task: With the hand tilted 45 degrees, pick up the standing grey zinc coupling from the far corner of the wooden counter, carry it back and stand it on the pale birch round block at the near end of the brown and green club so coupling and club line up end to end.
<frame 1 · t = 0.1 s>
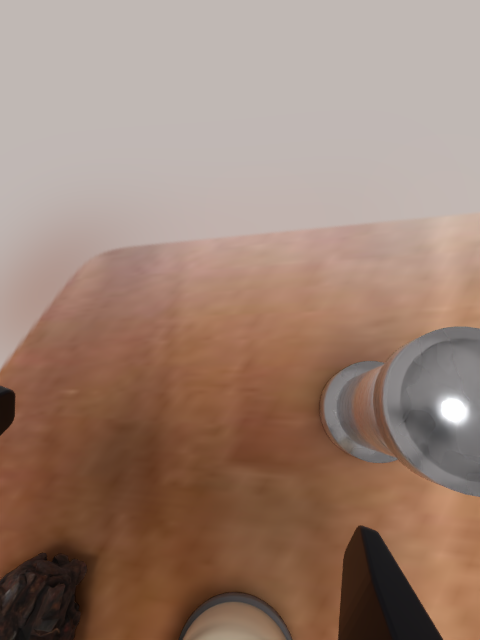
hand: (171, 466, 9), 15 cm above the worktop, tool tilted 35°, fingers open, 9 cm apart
zinc coupling: (365, 410, 23), on the worktop
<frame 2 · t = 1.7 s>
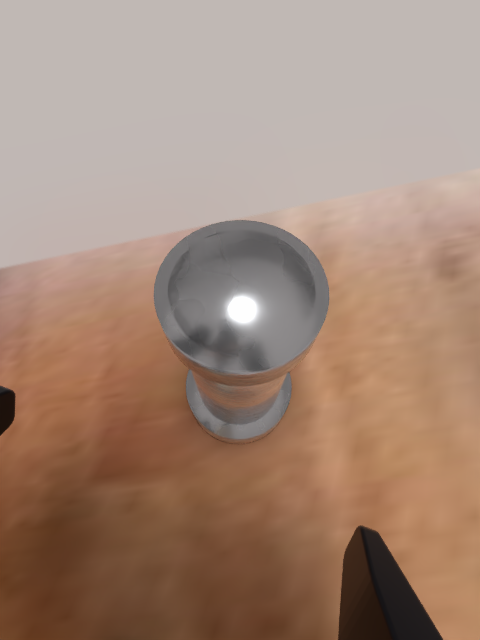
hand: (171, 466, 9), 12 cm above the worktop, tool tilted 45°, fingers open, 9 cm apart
zinc coupling: (238, 393, 21), on the worktop
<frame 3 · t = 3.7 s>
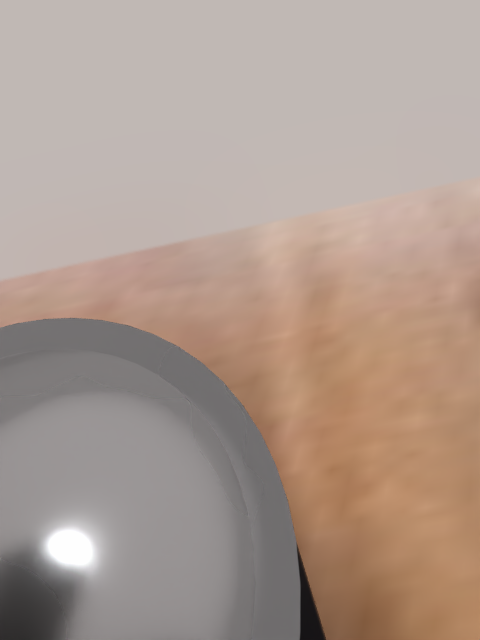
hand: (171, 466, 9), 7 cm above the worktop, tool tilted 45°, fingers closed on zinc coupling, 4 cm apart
zinc coupling: (184, 514, 14), on the worktop, touching gripper
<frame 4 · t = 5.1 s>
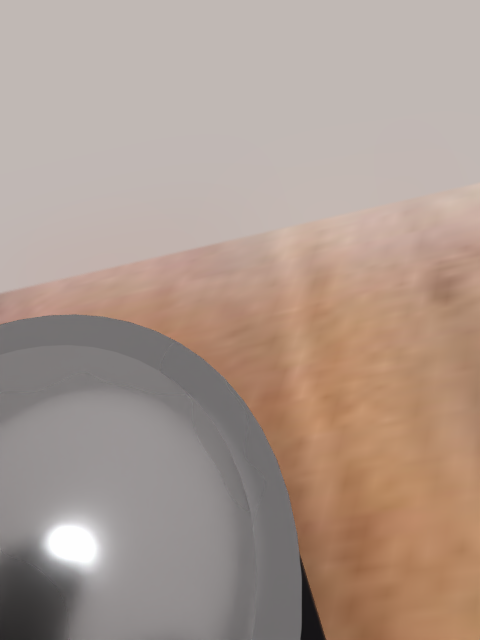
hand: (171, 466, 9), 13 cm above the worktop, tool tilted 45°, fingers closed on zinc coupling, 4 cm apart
zinc coupling: (185, 513, 14), point 6 cm above the worktop, touching gripper
when the fingers open (12 cm above the worktop, at t = 6.6 s): zinc coupling stays where it is, resting on fitting stand.
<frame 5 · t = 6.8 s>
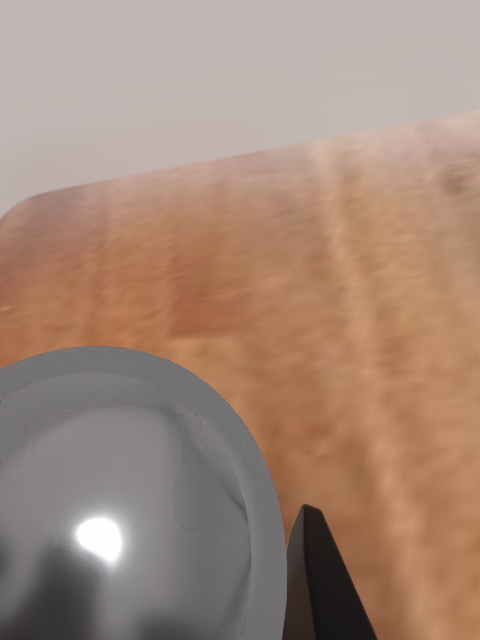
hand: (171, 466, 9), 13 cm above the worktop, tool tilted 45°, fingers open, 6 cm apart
zinc coupling: (186, 515, 15), point 5 cm above the worktop, touching fitting stand
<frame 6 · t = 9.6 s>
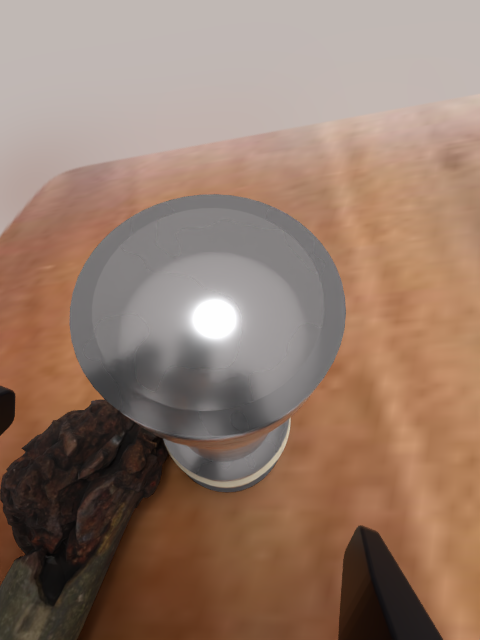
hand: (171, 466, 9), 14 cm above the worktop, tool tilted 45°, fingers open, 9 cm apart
brown and green club: (72, 550, 20), on the worktop
zinc coupling: (225, 417, 18), point 5 cm above the worktop, touching fitting stand
fitting stand: (228, 431, 22), on the worktop
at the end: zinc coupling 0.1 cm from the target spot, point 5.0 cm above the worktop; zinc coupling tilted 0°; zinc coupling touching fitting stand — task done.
